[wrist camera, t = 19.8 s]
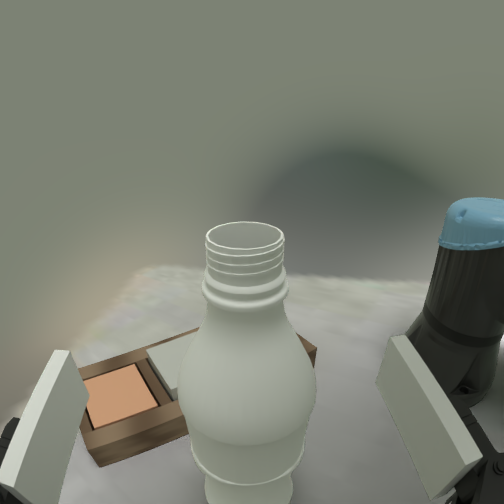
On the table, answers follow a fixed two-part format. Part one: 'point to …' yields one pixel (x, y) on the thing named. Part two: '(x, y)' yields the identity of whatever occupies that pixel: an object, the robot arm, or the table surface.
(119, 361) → the keypad
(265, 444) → the water bottle
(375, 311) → the table surface
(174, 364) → the key middle
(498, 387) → the table surface
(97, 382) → the orange square block
